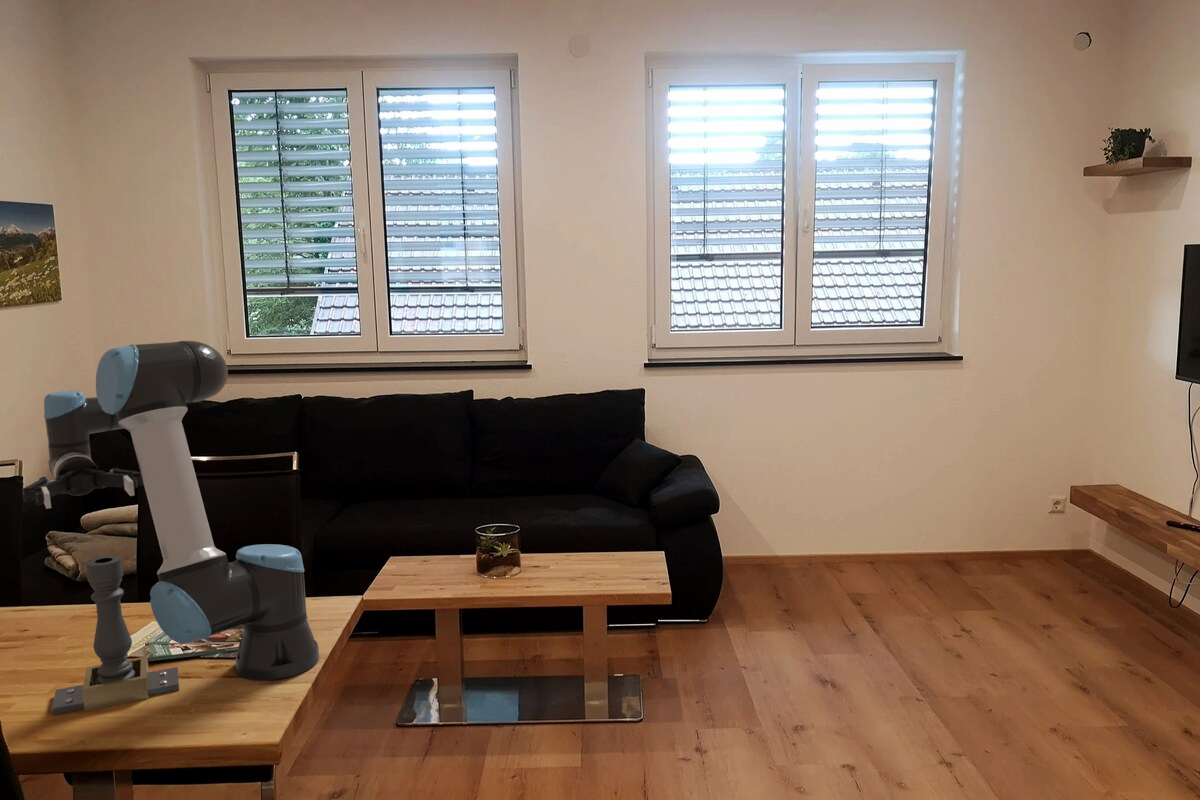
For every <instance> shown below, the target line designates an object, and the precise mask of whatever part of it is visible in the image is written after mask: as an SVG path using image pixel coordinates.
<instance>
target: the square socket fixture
mask: <svg viewBox="0 0 1200 800" xmlns="http://www.w3.org/2000/svg"><path fill="white" fill-rule="evenodd" d="M128 659H129V658H128ZM129 661H130V662H132V664H133V668H132V669H133V670H134V671H135V675H136V677H135V678H130V679H125V680H119V681H114V682H109V683H104V684H98V685H97V678H98V677H99V675H98V669H99V668H100V666H101V664H97V665H92V666H86V668H85V673H84V678H83V679H84V680H83V684H80V685H74V686H70V687H64V688H59V689H55V693H54V696H53V697H54V698H53V701H52V704H51V715H52V716H56V715H55V714H57V715H62V714H67V713H72V712H76V711H81V710H84V712H88V711H89V712H90V711H94V710H99V709H103V708H110V707H114V706H119V705H123V704H128V703H134V702H139V701H144V700H148V699H149V697H152V696H153V697H154V696H157V695H162V694H169V693H173V692H177V691H178V692H179V691H180V683H179V681H180V680H179V668H178V666H175V667H170V668H165V669H160V670H155V671H149V664H148V656H146V655H145V656H141V657H136V658H135V657H134V658H131V659H129ZM66 712H67V713H66ZM61 713H62V714H61Z"/></svg>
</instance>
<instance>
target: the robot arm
mask: <svg viewBox="0 0 1200 800" xmlns="http://www.w3.org/2000/svg"><path fill="white" fill-rule="evenodd" d="M228 372H229V370H228V366H227V362H226V360H225V359H224V357H223V356H222V355H221V353H220V352H219V351H218V350H217V349H215V348H214V347H212V346H210V345H209V344H206V343H204V342H200V341H197V340H180V341H173V342H171V341H170V342H169V341H168V342H158V343H157V342H156V343H141V344H129V345H126V346H119V347H118V346H117V347H113V348H111V349H108V350H107V351H105V352H104V354H103V355H102V356H101V358H100V360H99V362H98V365H97V368H96V374H95V393H96V397H86V396H85V394H84V392H83V391H81V390H67V391H66V390H65V391H64V390H62V391H55V392H50V393H48V394H46V395H45V397H44V399H43V410H44V411H43V413H44V414H43V418H44V421H45V428H46V429H45V430H46V435H47V442H48V446H47V448H48V456H49V460H48V466H49V467H48V468H49V471H50V473H51V475H52V476H53V478H54V479H53V480H52V479H50V477H47V476H41V477H39V479H38V480H36V481H34V482H32V483H31V484H29V485H27V486H25V487H23V488H22V497H23V502H24V503H30V502H32V501H34V500H35V506H41V505H43V504H44V506H45V509H46V510H47V509H52V503H51V498H52V497H55V496H57V495H60V494H61V495H64V494H66V495H67V494H68V495H70V496H75V497H77V496H80V497H81V496H85V495H87V494H89V493H91V492H93V491H94V490H95V489H96V490H98V489H99V490H101V489H105V488H108V487H109V488H124V489H123V490H124V491H125V492H126V493H127V494H128V495H129V496H130V497H133V496H135V489H137V488H138V487H142V486H144V490H145V493H146V494H145V495H146V497H147V501H148V504H149V505H148V506H149V509H150V513H151V518H152V520H153V525H154V528H155V533H156V536H157V537H156V538H157V540H158V544H159V547H160V548H159V549H160V551H161V552H160V553H161V555H162V556H161V557H162V558H163V561H162V564H161V566H160V567H159V569H158V570H157V571H156V572H157V573H156V575H157V578H158V582H156V583H155V584H154V585H153V586H152V587H151V589H150V593H149V595H150V596H149V597H150V600H149V602H150V607H151V611H152V614H153V616H154V618H155V621H156V623H157V624H158V626H159V627H160V629H161V631H162V632H163V633H164V634H165V635H166V636H167V637H168V638H169V639H170V640H172V641H173V642H176V643H177V644H178V643H179V644H190V643H193V642H196V641H200V640H202V641H203V640H206V639H208V638H210V637H212V636H215V635H217V634H220V633H224V632H226V631H229V630H231V629H235V628H237V627H240V626H242V633H241V637H240V640H239V645H238V649H237V654H236V656H235V668H236V673H237V675H238V676H240V677H242V678H245V679H247V680H254V681H274V680H275V681H276V680H281V679H286V678H290V677H293V676H296V675H299V674H301V673H304V672H306V671H308V670H309V669H311V668H313V667H314V666H315V665H316V664H317V663H318V662H319V659H320V652H319V651H320V650H319V649H320V648H319V644H318V643H317V641H316V640H315V638H314V635H313V632H312V629H311V627H310V624H309V622H308V621H307V617H308V615H307V604H306V603H307V602H306V590H305V589H306V588H305V574H304V572H305V567H304V563H303V558H302V557H303V556H302V554H301V552H300V551H299V549H297V548H295V547H293V546H290V545H284V544H275V543H274V544H272V543H271V544H270V543H269V544H267V543H265V544H252V545H247V546H242V547H241V548H238V550H237V551H236V555H235V559H236V560H234V561H231V562H229V561H228V557H227V554H226V553H227V552H224V551H222V550H220V549H218V548H217V547H216V546H215V543H214V540H213V537H212V536H213V535H212V531H211V528H210V525H209V524H210V523H209V521H208V517H207V514H206V510H205V505H204V502H203V498H202V495H201V490H200V487H199V482H198V479H197V475H196V472H195V467H194V464H193V460H192V457H191V452H190V449H189V445H188V440H187V436H186V433H185V429H184V425H183V423H182V421H183V418H184V417H185V415H186V413H187V412H188V410H189V409H188V407H187V406H188V405H187V404H189V403H197V402H202V401H206V400H208V399H210V398H212V397H215V396H216V395H217V394H219V393H220V392H221V391H222V390H223V388H224V387H225V386H226V383H227V380H228V376H229V375H228V374H229V373H228ZM122 429H125V430H127V431H128V432H129V433H130V436H131V440H132V444H133V448H134V451H135V456H136V459H137V460H136V461H137V463H138V467H139V470H140V471H134V470H126V469H122V468H121V469H120V468H119V467H111V469H110V470H109V472H106V471H105V470H104V469H103V470H102V469H101V470H100V469H99V467H98V466H97V464H96V463H95V462H94V460H92V455H91V446H90V434H96V433H103V432H110V431H114V430H115V431H116V430H122Z"/></svg>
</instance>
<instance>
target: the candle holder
mask: <svg viewBox="0 0 1200 800" xmlns="http://www.w3.org/2000/svg"><path fill="white" fill-rule="evenodd" d="M85 570H86V579H87V582H88V583H89V586H90V587H91V588H92V590H93V591H94V592H93V593H92V594H91V595H90V598H91V600H92V601H93V602H94V603H95V608H96V615H97V620H96V625H95V626H96V627H95V633H94V639H93V650H94V654H95V655H96V656H97V658H99V660H100V662H101V664H100V665H101V666H100V668H99V669H98V675H99V677H98V678H97V685H98V684H104V683H109V682H114V681H119V680H125V679H130V678H135V677H136V675H135V671H134V670H133V669H132V668H133V664H132V662H130V661H129V658H128V656H129V654H128V653H129V652H130V650H131V647H132V645H133V640H132V637H131V634H130V632H129V629H128V627H127V625H126V622H125V619H124V616H123V612H122V603H121V599H122V597H123V595H124V594H125V592H124V589H123V588H121V587H120V586H121V582H122V581H123V576H124V567H123V558H122V556H120V555H114V554H113V555H102V556H98V557H94V558H91V559H89V560H86V562H85Z"/></svg>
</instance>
